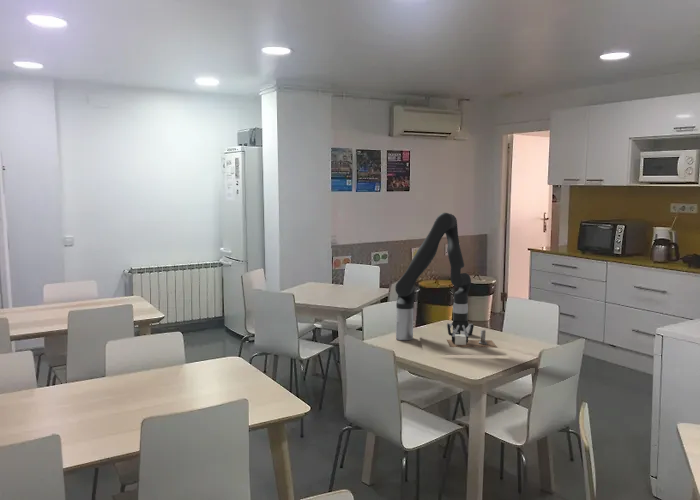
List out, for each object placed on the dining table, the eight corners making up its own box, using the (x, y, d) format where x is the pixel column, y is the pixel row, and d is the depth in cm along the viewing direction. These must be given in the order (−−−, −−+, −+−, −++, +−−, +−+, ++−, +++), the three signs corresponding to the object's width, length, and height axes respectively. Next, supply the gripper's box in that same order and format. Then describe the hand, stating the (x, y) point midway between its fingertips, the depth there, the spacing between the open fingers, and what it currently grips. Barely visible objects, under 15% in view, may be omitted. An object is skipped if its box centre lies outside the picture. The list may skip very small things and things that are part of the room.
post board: (449, 349, 285) (450, 333, 284) (446, 342, 299) (446, 326, 298) (497, 350, 284) (497, 334, 283) (491, 343, 298) (492, 327, 297)
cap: (455, 344, 289) (455, 337, 288) (453, 341, 294) (453, 334, 294) (466, 344, 289) (466, 337, 288) (464, 341, 294) (464, 334, 294)
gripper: (447, 312, 286) (446, 345, 288) (475, 313, 286) (475, 345, 287) (445, 309, 294) (445, 341, 296) (473, 310, 293) (472, 341, 295)
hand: (459, 343), depth 291 cm, fingers closed on cap, 5 cm apart
